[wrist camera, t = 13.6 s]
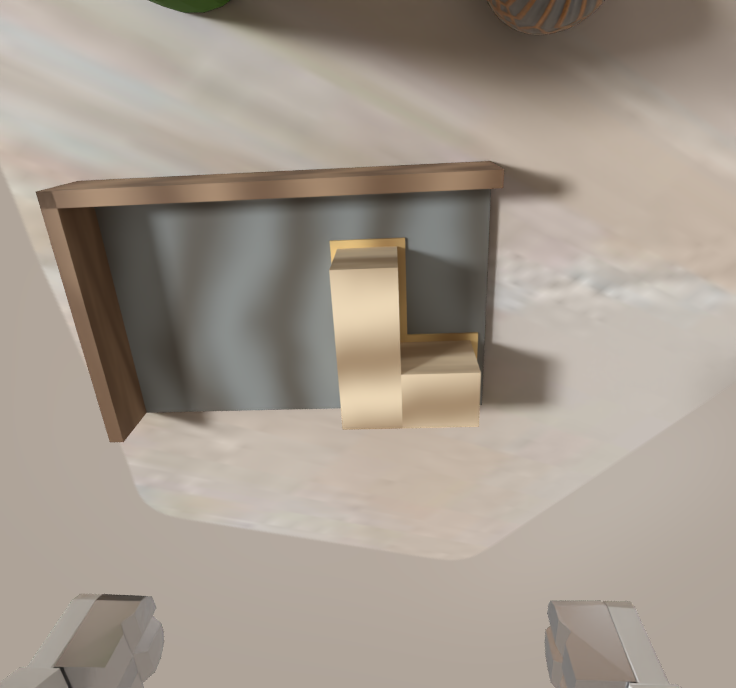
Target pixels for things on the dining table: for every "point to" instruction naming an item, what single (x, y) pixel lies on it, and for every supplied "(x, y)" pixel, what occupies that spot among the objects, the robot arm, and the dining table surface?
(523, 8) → the vase
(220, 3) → the wine bottle
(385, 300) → the oak L block
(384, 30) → the dining table surface
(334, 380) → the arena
